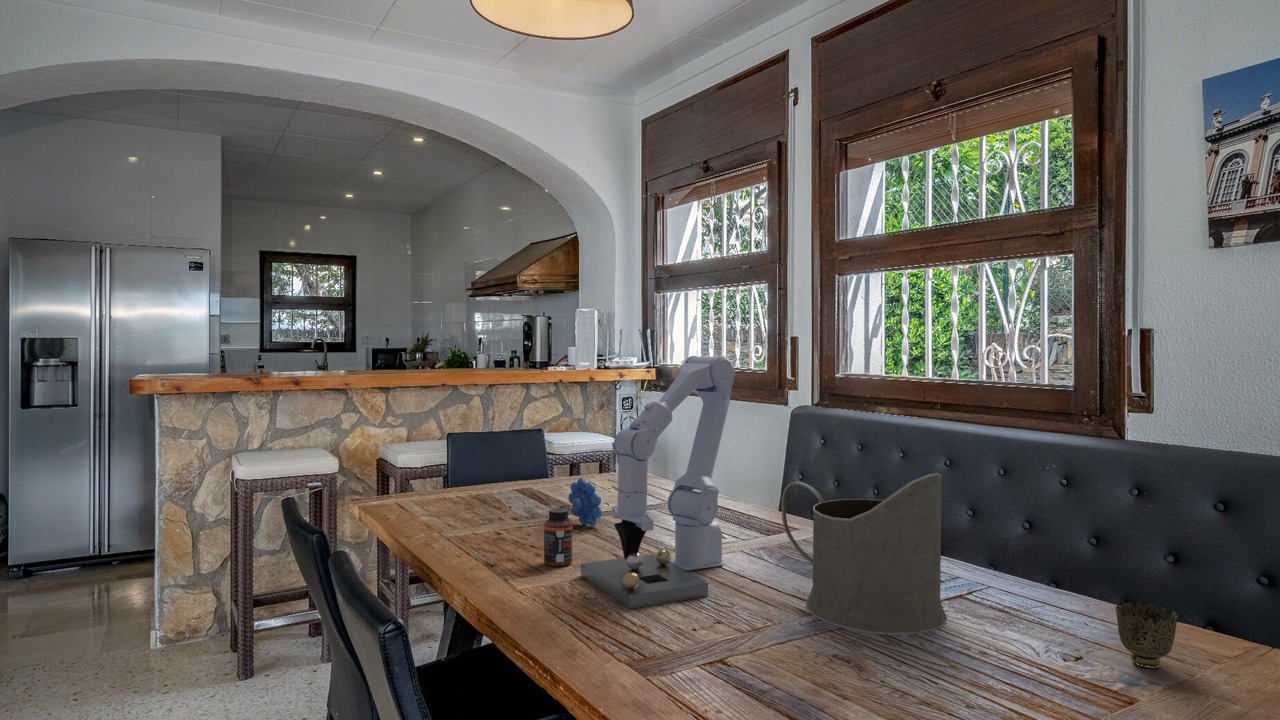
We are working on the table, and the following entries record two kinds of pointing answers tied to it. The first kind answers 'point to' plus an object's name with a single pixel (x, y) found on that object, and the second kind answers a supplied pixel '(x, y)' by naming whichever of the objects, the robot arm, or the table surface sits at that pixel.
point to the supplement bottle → (558, 538)
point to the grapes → (585, 502)
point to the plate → (644, 582)
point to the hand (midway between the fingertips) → (630, 560)
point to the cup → (1146, 632)
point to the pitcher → (877, 560)
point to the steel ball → (634, 561)
